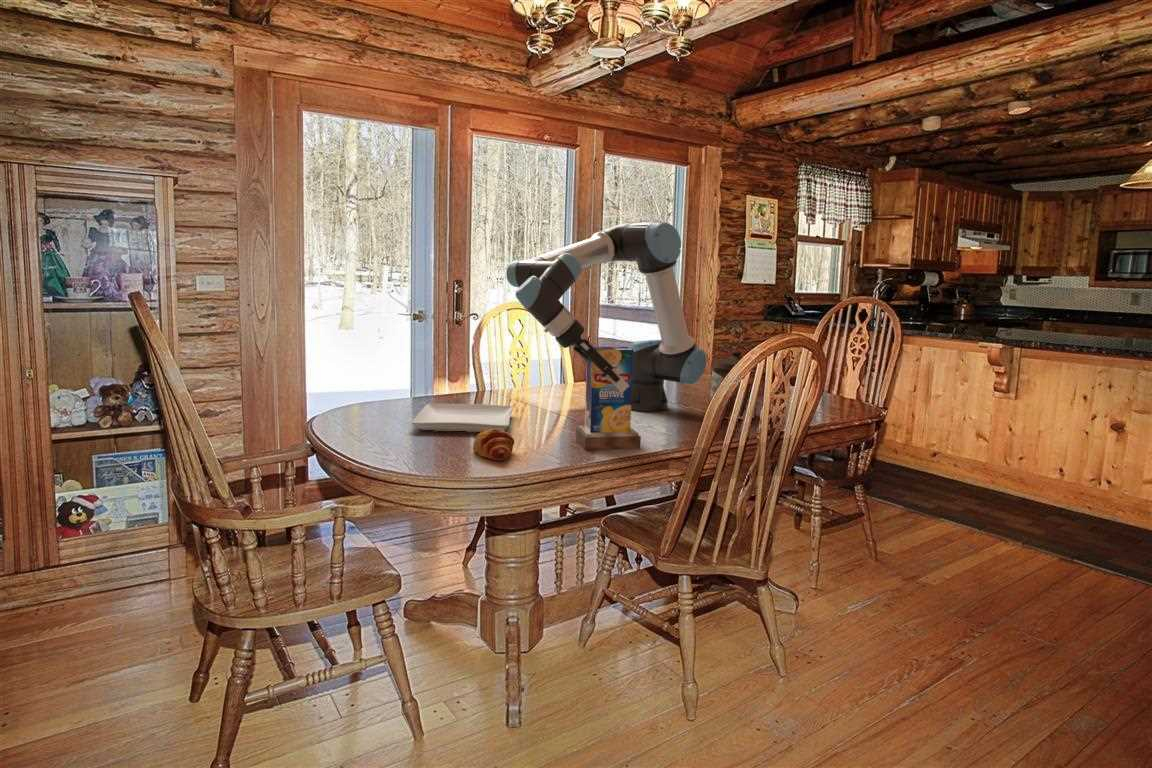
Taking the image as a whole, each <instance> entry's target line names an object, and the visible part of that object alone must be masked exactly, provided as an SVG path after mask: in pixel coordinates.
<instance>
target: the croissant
mask: <svg viewBox="0 0 1152 768" xmlns="http://www.w3.org/2000/svg"><path fill="white" fill-rule="evenodd" d="M472 445H473V446H472V449H473V451H472V452H475V453H477V452H478V453H477V455H478V454H479V455H478V456H480V457H484V458H487V459H489V460H491V459H492V461H496V462H497V461H499V462H500V461H503V460H508V459H509V457H510V456H511V454H512V452H513V450H514V446H515V439H514V438H513V436H512V434H510V433H509V432H507V431H506V430H504V431H502V430H499V429H489V430H483V431H481V432H480V433H477V434H476V437H475V439H474V441H473V444H472Z"/></svg>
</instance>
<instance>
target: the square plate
mask: <svg viewBox="0 0 1152 768" xmlns="http://www.w3.org/2000/svg"><path fill="white" fill-rule="evenodd" d="M513 411H514V406H513V405H501V404H500V405H498V404H482V403H478V404H477V403H427V404H426V405H425V406H424V407H422V409H421V411H420V412H419V413H418V414H417V415H416V416H415V417H414V418H413V419H412V421H411V424H412V425H413V427H415V428H417V429H419V430H423V431H429V430H436V431H435V432H437V431H467V432H466V433H477V432H481V431H483V430H489V429H499V430H502V431H506V429H508V427H509V426H510V421H511V420H510V419H511V415H512V412H513Z"/></svg>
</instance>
